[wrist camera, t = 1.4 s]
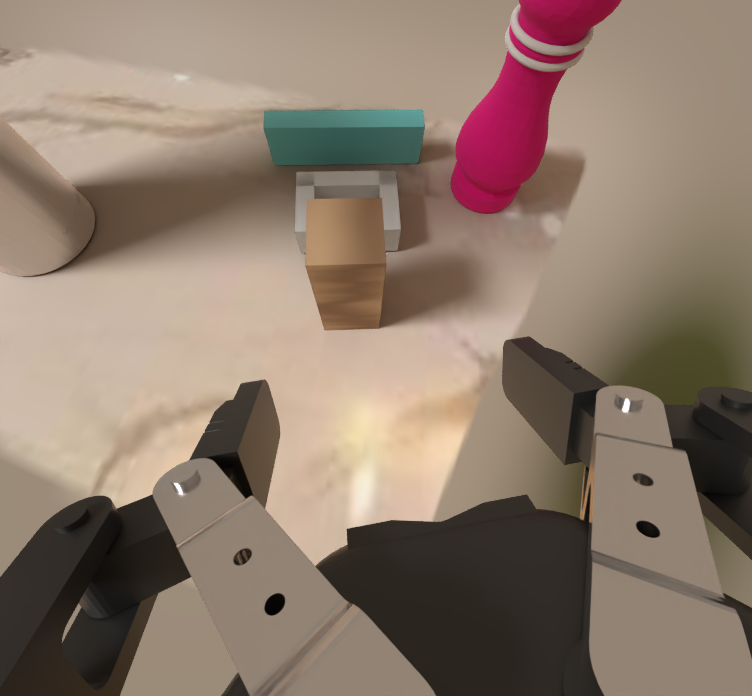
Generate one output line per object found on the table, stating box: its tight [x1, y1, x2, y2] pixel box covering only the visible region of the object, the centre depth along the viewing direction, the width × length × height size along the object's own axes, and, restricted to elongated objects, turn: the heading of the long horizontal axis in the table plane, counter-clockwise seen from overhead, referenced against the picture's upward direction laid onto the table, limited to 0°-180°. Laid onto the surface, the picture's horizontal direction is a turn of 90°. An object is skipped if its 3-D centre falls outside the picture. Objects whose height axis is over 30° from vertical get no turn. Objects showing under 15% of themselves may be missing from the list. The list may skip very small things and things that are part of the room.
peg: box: [305, 198, 386, 330], centre depth 25 cm, size 4×4×10 cm
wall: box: [264, 110, 425, 165], centre depth 33 cm, size 14×2×4 cm, turn 93°
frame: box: [295, 170, 401, 253], centre depth 31 cm, size 8×6×3 cm
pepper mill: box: [451, 0, 621, 213], centre depth 25 cm, size 7×7×20 cm
